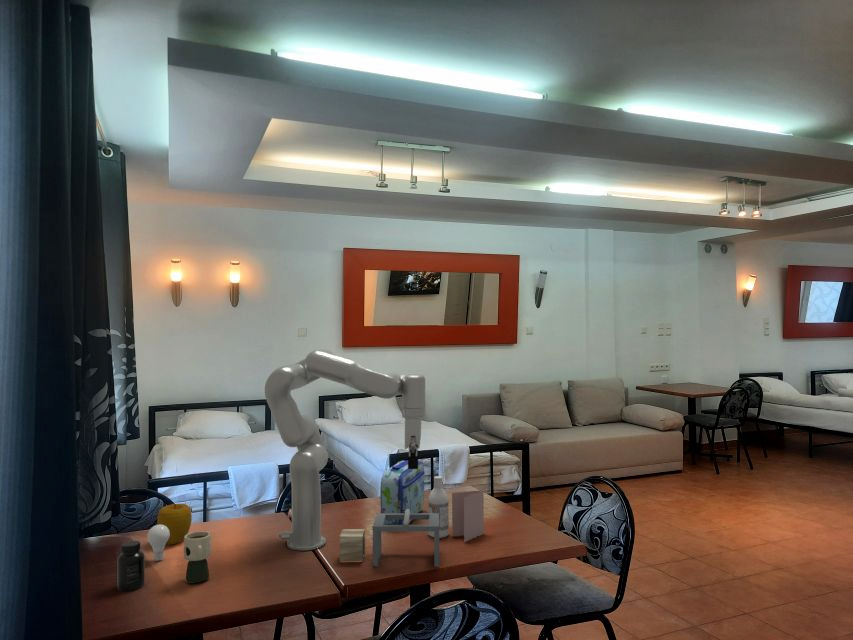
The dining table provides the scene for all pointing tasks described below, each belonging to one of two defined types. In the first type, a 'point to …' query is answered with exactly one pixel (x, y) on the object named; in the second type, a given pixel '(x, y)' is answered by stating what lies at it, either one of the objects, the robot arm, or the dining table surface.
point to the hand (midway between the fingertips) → (413, 465)
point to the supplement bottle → (130, 567)
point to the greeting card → (468, 514)
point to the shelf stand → (380, 527)
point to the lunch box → (402, 490)
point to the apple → (175, 521)
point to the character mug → (197, 555)
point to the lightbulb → (158, 540)
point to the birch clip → (352, 544)
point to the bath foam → (439, 507)
